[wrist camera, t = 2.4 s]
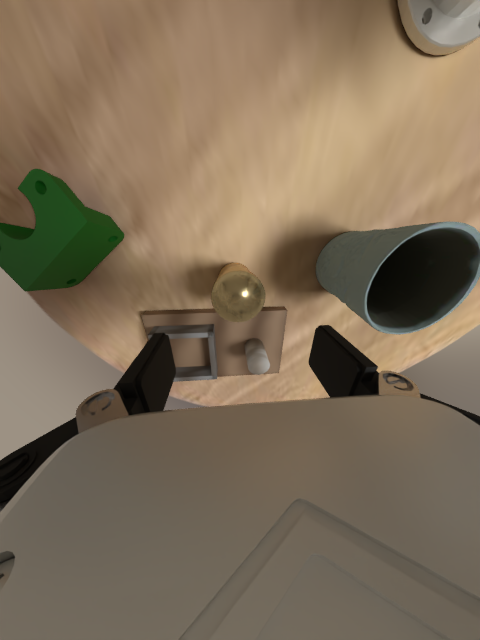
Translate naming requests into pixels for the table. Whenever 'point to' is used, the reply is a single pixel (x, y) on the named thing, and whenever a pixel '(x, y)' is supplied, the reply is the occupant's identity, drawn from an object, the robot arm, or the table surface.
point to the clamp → (55, 237)
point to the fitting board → (220, 342)
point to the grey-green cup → (402, 273)
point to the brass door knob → (237, 293)
